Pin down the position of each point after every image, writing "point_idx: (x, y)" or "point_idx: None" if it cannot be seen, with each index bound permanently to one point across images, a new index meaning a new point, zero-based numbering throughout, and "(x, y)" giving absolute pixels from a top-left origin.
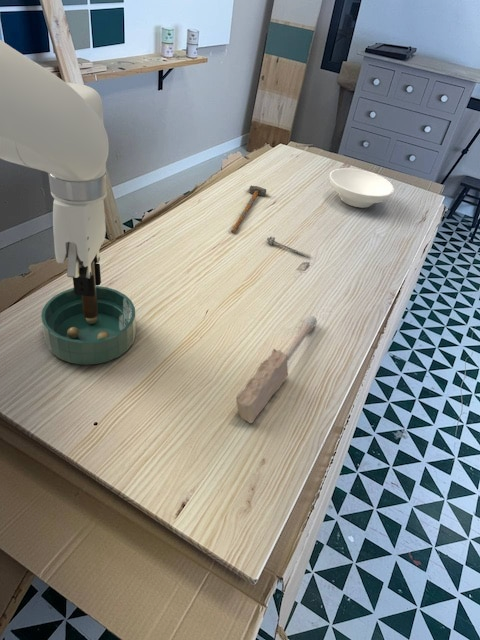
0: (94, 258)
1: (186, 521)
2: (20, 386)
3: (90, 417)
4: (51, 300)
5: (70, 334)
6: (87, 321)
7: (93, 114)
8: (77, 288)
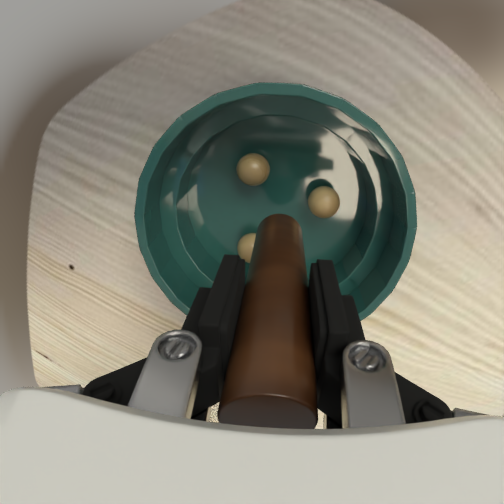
0: (325, 424)
1: (37, 357)
2: (93, 112)
3: (76, 257)
4: (315, 96)
5: (237, 168)
6: (310, 193)
7: None
8: (196, 297)
